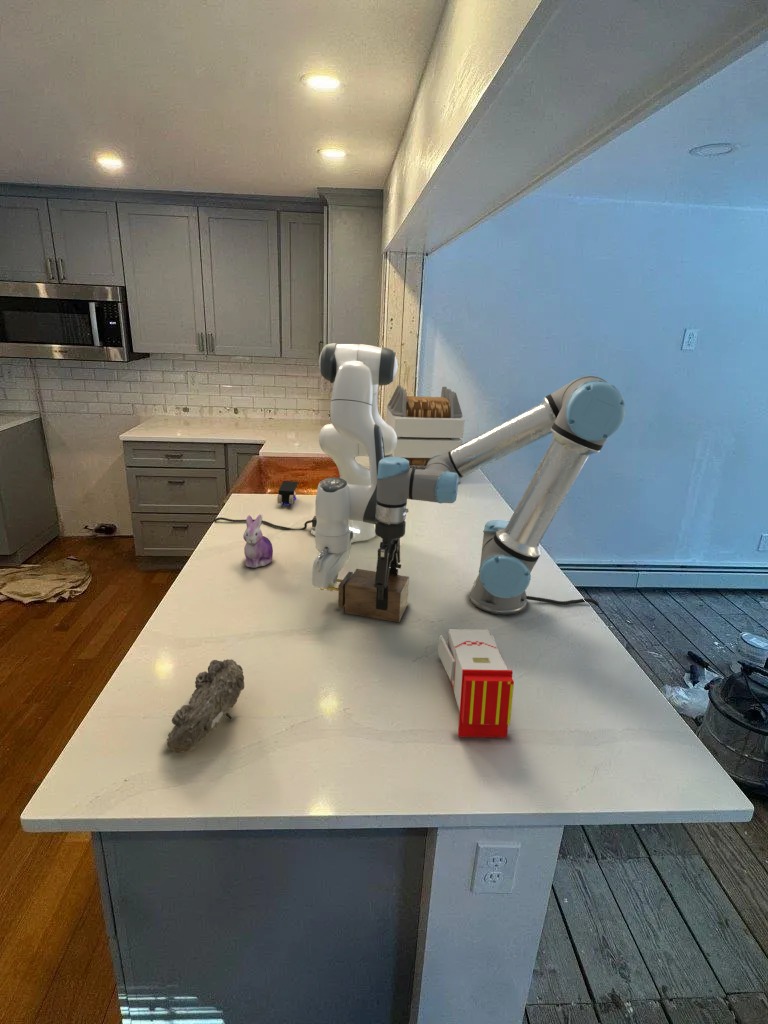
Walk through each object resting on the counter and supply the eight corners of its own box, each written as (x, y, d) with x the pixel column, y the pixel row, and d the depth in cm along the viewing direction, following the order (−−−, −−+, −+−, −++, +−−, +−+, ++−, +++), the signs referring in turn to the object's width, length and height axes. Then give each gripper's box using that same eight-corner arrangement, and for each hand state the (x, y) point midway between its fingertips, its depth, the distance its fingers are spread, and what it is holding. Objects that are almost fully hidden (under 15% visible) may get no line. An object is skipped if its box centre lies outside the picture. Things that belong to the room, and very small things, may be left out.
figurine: (247, 571, 167) (245, 523, 162) (239, 557, 175) (236, 512, 170) (278, 566, 171) (277, 519, 166) (269, 553, 179) (267, 508, 174)
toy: (488, 613, 130) (523, 677, 101) (484, 667, 133) (517, 744, 104) (435, 612, 130) (455, 676, 101) (432, 666, 133) (451, 743, 103)
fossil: (192, 660, 117) (244, 628, 112) (224, 691, 120) (276, 661, 115) (142, 746, 98) (202, 712, 93) (182, 779, 101) (242, 748, 96)
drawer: (317, 604, 149) (317, 581, 147) (328, 589, 156) (328, 568, 154) (387, 616, 144) (389, 593, 142) (395, 601, 152) (397, 579, 150)
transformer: (382, 463, 289) (386, 382, 275) (445, 464, 293) (451, 384, 279) (390, 482, 257) (394, 392, 243) (460, 483, 261) (468, 394, 247)
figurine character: (294, 513, 219) (298, 496, 232) (293, 495, 215) (298, 479, 229) (276, 512, 219) (282, 496, 232) (276, 494, 215) (281, 479, 229)
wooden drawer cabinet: (344, 613, 147) (345, 584, 144) (355, 596, 156) (356, 568, 153) (399, 622, 143) (400, 593, 141) (407, 604, 152) (409, 576, 149)
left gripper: (330, 558, 136) (329, 609, 141) (355, 528, 155) (354, 574, 160) (305, 554, 138) (305, 604, 142) (333, 525, 156) (333, 571, 161)
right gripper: (394, 537, 129) (389, 623, 137) (414, 507, 150) (409, 583, 157) (363, 533, 131) (360, 618, 139) (387, 503, 151) (383, 579, 159)
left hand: (331, 588), depth 151 cm, fingers closed
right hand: (386, 599), depth 148 cm, fingers closed on wooden drawer cabinet, 10 cm apart
